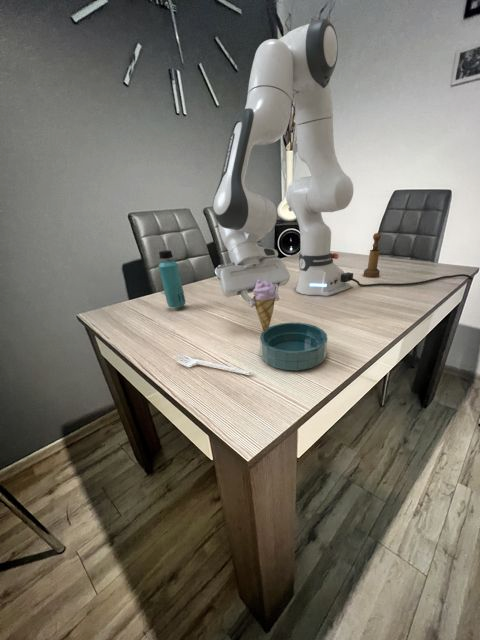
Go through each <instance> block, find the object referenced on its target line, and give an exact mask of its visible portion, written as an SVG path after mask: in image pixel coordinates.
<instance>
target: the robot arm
mask: <svg viewBox="0 0 480 640" xmlns="http://www.w3.org/2000/svg"><path fill="white" fill-rule="evenodd" d="M338 43H339V42H338V35H337V32H336V28H335V27H334V25H333V23H331V21H330V20H329V19H328V18H318V19H314V20H312V21H311V22H310V23H307V24H303V25H301V26H299V27H296V28H294V29H292V30H290V31H288V32H287V33H286V34H284V35H283V36H282V37H280V38H278V39H276V38H270V39H265V40H264V41H263V42H262V43H261V44H259V46H258V48H257V49H256V51H255V54H254V58H253V61H252V65H251V69H250V75H249V81H248V86H247V96H246V103H245V107H244V108H243V109H240V111H238V113H237V114H236V116H235V118H234V120H233V123H232V126H231V130H230V134H229V138H228V143H227V147H226V151H225V157H224V160H223V166H222V170H221V174H220V179H219V183H218V186H217V188H216V190H215V194H214V197H213V199H212V200H213V201H212V211H213V216H214V217H215V219H216V221H217V226H218V231H219V235H220V238H221V240H222V243H223V245H224V247H225V248H226V250H227V252H228V257H229V260H230V263H225V264H218V265H217V267H216V268H215V269H214V273H215V277H216V278H217V279H218V280H219V285H220V289H221V292H222V295H223V296H224V297H226V298H231V297H232V298H233V297H237V296H241V299H243V300H244V301H245V302H246V303H247V304H248V306H249V308H255V306H256V301H255V298H253V297H251V296H250V295H248V294H251V293H253V290H254V289H255V286H256V284H255V283H257V280H259V279H260V280H261V281H267V282H268V283H270V282H271V283H272V284H273V285H274V286H275V294H276V297H275V302H278V301H279V300H280V296H279V293H278V292H279V287H284V286H286V285H287V284H288V283H289V282H290V279H291V275H290V272H289V270H288V268H287V266H286V264H285V263H284V261H283V259H281V258H280V257H278V256H279V252H278V250H277V249H275V248H269V247H264V246H260V245H258V242H260V241H261V240H263V239H264V238H266V237H267V236H268V235H269V234H271V233H272V232H273V230H274V229H275V227H276V225H277V222H278V209H277V206H276V204H275V203H274V201H273V200H270V199H269V198H267V197H265V196H263V195H260V194H258V193H256V192H253V191H251V190H250V189H247V187H246V184H245V178H246V174H247V169H248V165H249V162H250V161H249V160H250V156H251V152H252V149H253V147H254V146H266V145H271V144H273V143H275V142H278V141H279V140H280V139H281V138H283V136H284V135H285V133H286V132H287V129H288V126H289V123H290V120H291V119H290V118H291V111H292V103H293V94H294V95H295V96H294V97H295V103H294V115H295V117H294V118H295V130H296V132H295V133H296V144H297V145H296V147H297V155H298V158H299V159H300V160H301V161H302V163H305V165H306V166H307V168H308V169H309V171H310V176H302V177H300V178H298V179H295V180H293V181H291V182H290V183H289V184H288V186H287V188H286V193H285V199H286V203H287V206H288V207H289V209H291V211H292V212H293V214H294V216H295V218H296V220H297V224H298V228H299V235H300V236H299V239H300V240H299V241H300V243H299V245H300V253H299V254H298V267H299V271H298V278H297V282H296V283H297V284H296V287H295V292H297V293H299V294H302V295H306V296H307V295H308V296H324V297H325V296H326V297H329V296H332V295H334V294H337V293H340V292H343V291H346V290H348V289H351V288H352V285H351V284H350V283H349V282H351V281H352V282H355V283H356V284H357V286H359V287H362V288H363V287H365V288H366V287H378V286H380V287H381V286H382V287H383V286H386V287H387V286H391V287H398V286H399V287H400V286H401V287H403V286H415V285H421V284H426V283H430V282H434V281H439V280H442V279H450V278H458V277H465V278H468V279H469V280H473V277H472V276H471V275H469V274H466V273H458V274H453V275H443V276H439V277H434V278H430V279H426V280H421V281H415V282H404V283H392V282H391V283H390V282H387V283H385V282H381V283H380V282H379V283H378V282H377V283H368V284H367V283H366V284H363V283H360V281H359V280H358V279H356V278H354V272H348V271H347V272H345V271H344V270H343V269H342V268H340V266H338V265H337V264H336V263H335V262H334V260H338V259H339V258H340V257H339V253H336V252H333V253H332V252H331V246H332V245H331V244H332V230H331V228H330V226H329V225H327V224H326V222H325V221H324V218H323V215H322V213H334V212H338V211H341V210H342V211H343V210H345V209H346V208H347V207H349V205H350V203H351V202H352V200H353V196H354V190H355V189H354V183H353V180H352V179H351V177H350V176H348V175H347V174H346V173H345V172H344V170H343V169H342V167H341V165H340V163H339V160H338V157H337V155H336V149H335V141H334V110H333V99H332V91H331V85H330V80H331V78H332V76H333V74H334V71H335V68H336V65H337V61H338V57H339V44H338Z"/></svg>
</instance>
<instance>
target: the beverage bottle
mask: <svg viewBox="0 0 480 640" xmlns="http://www.w3.org/2000/svg"><path fill="white" fill-rule="evenodd" d="M158 255H159V259H161V260H163V261H161V262H160V263H159V264H158V269H159V274H160V277H161V283H162V286H163V287H162V288H163V291H164V297H165V299H166V300H165V301H166V304H167V306H168V307H169V308H180V307H183V306H185V305H186V298H185V292H184V288H183V284H182V278H181V273H180V270H179V264H178V262H176V261H175V260H172V258H173V252H172V250H170V249H169V250H167V249H166V250H160V251H159V252H158ZM165 259H171V260H165Z"/></svg>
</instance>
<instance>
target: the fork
mask: <svg viewBox="0 0 480 640" xmlns="http://www.w3.org/2000/svg"><path fill="white" fill-rule="evenodd" d="M175 353H176V354H174V355H173V356H172V358H173V359H174V360H175V361H177V363H179V364H181V365H182V366H184V367H187V368H191V367H195V366H196V365H200V366H205V367H210V368H214V369H219V370H223V371H227V372H232V373H237V374H242V375H246V376H250V375H251V372H250V371H248V370H245V369H241V368H236V367H231V366H227V365H223V364H219V363H215V362H210V361H206V360H201V359H199V358H194V357H190V356H188V355H186V354H184V353H182V352H181V351H178V352H175Z"/></svg>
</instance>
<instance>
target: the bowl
mask: <svg viewBox="0 0 480 640" xmlns="http://www.w3.org/2000/svg"><path fill="white" fill-rule="evenodd" d="M259 342H260V343H259V347H260V356H261V358H262V360H263V361H264V362H265V363H266V364H267V365H269V366H271V367H273V368H275V369H280V370H283V371H284V370H285V371H301V370H302V371H303V370H309V369H311V368H315V367H317V366H319V365H321V363H323V362H324V361H325V359H326V358H327V349H328V334H327V333H326V331H324V330H323V329H322V328H321V327H319V326H316V325H314V324H310V323H305V322H282V323H277V324H274V325H271V326H269V328H267V329H265V330H264V331H263V330H262V332H261V333H260V337H259Z"/></svg>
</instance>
